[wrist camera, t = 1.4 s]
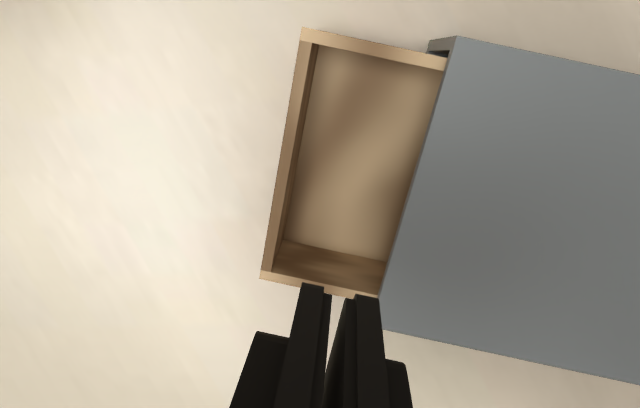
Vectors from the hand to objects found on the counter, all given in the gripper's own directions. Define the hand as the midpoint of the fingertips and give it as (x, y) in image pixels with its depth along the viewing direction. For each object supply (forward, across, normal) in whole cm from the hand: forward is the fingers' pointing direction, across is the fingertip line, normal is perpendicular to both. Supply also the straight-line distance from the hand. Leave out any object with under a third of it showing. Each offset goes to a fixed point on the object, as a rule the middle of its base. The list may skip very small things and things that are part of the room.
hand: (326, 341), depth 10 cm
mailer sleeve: (+19, -14, 0) cm, 23 cm away
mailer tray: (+18, -6, 0) cm, 19 cm away
